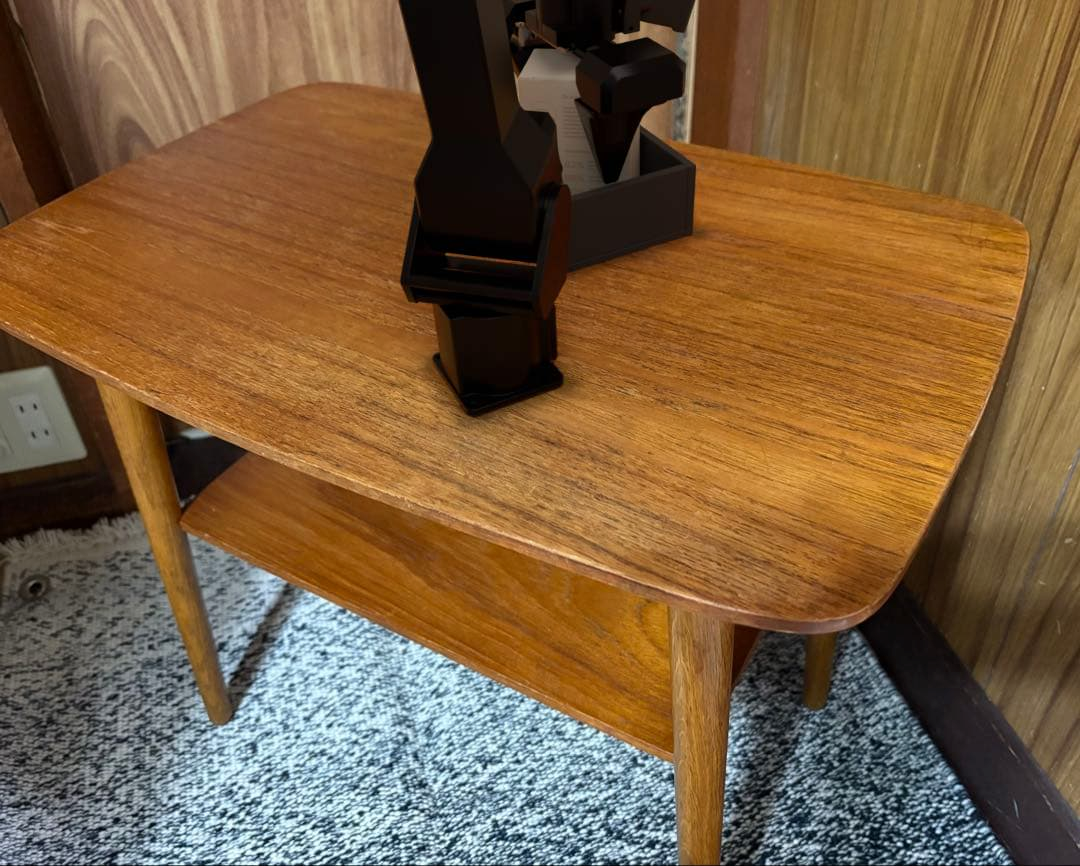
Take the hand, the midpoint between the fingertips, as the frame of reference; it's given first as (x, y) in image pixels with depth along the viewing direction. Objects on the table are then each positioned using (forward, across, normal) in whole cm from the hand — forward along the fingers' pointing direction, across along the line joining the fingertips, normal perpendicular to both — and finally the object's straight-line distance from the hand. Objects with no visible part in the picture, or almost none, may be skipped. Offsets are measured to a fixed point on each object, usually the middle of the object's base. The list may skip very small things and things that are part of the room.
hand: (582, 158), depth 73 cm
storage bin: (+5, 0, 0) cm, 5 cm away
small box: (+4, 0, 0) cm, 4 cm away
